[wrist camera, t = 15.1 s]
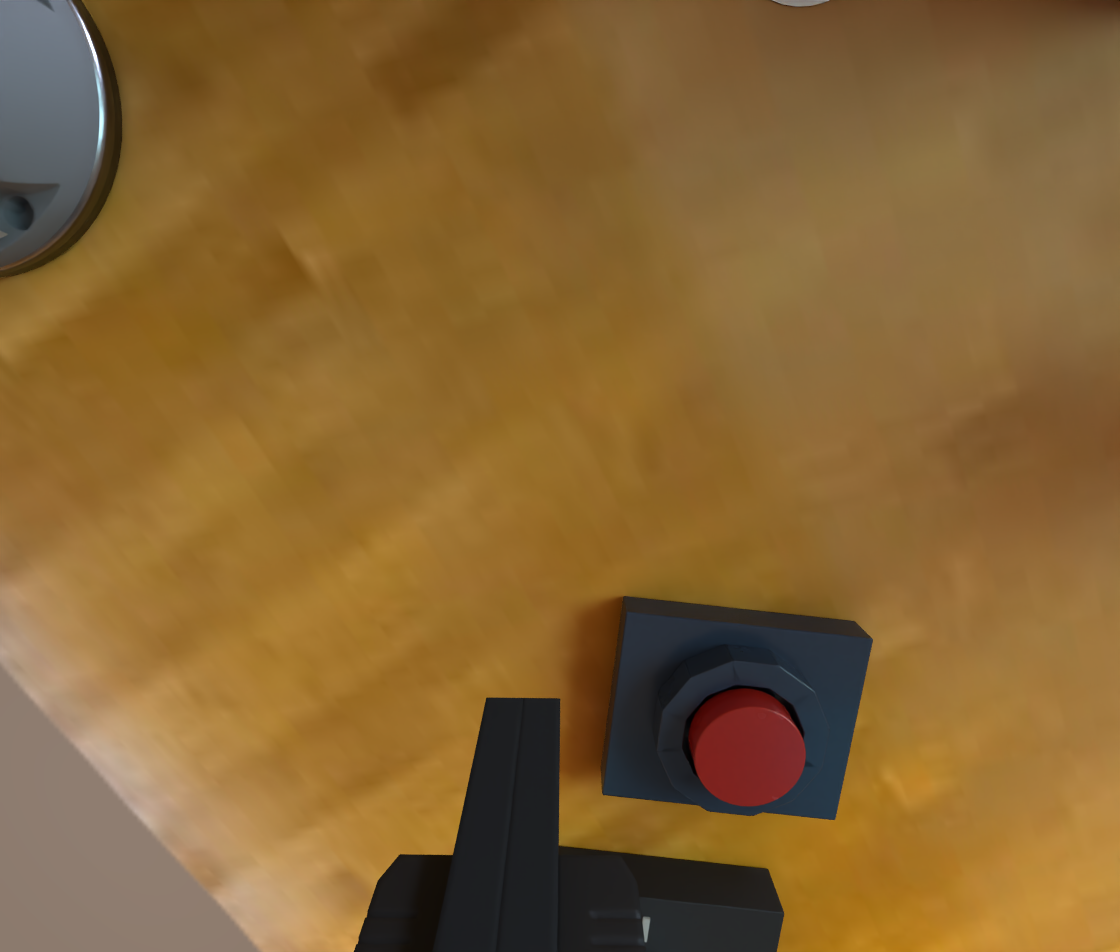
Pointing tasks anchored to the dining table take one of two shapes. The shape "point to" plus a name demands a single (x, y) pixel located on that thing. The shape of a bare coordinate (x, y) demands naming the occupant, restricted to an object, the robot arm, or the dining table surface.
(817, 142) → the dining table surface
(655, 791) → the button housing
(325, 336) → the dining table surface
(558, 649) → the dining table surface
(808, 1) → the champagne flute
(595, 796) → the dining table surface
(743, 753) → the power button
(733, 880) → the control panel
